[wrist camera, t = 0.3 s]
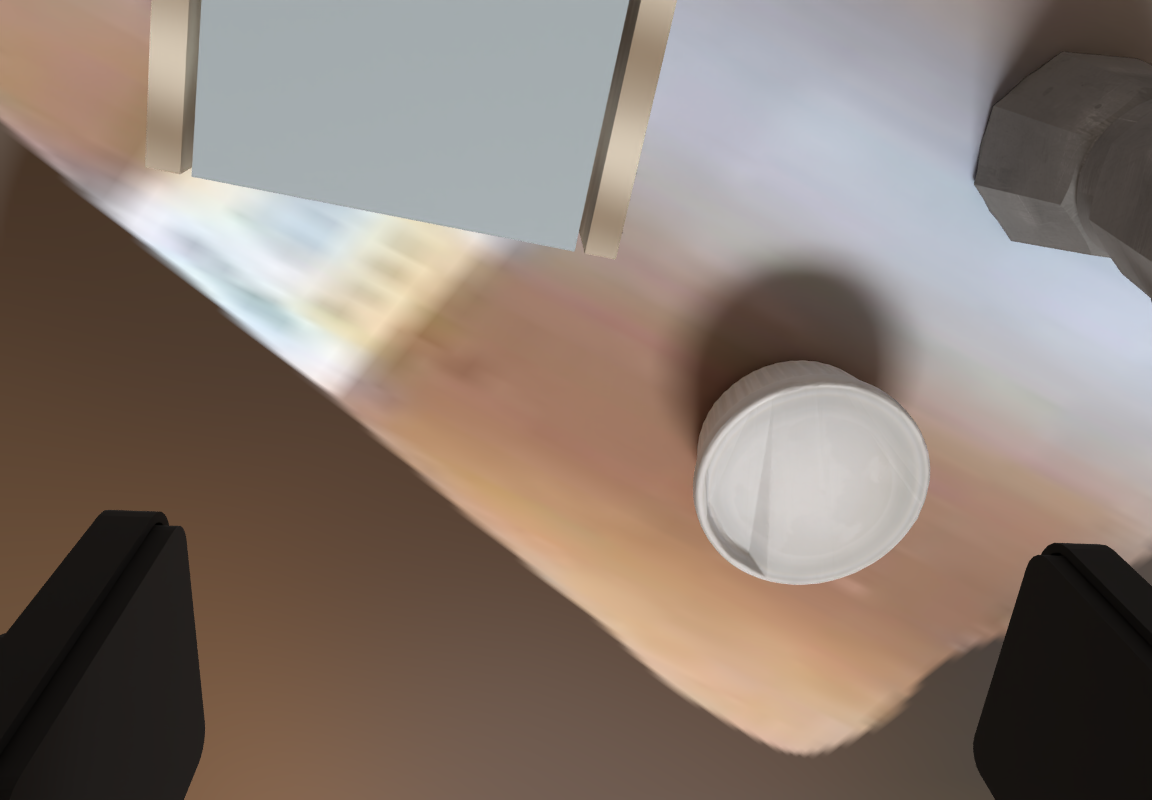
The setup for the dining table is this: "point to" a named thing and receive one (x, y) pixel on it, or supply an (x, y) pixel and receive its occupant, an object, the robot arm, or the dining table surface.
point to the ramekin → (807, 473)
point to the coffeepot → (1076, 160)
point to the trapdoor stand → (616, 146)
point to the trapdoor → (411, 106)
